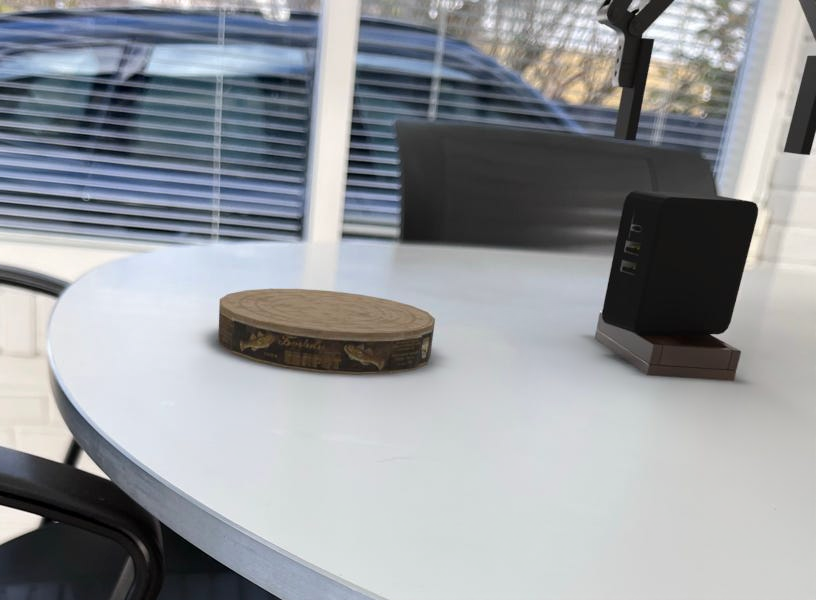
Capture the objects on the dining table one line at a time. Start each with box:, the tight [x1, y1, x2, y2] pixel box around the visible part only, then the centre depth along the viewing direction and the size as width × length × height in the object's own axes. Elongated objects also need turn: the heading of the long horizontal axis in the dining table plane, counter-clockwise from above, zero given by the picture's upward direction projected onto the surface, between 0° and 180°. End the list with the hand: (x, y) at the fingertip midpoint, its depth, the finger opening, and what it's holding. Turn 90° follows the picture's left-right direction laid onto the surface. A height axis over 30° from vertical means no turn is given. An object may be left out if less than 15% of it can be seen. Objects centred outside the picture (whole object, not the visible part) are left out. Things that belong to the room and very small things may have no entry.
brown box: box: [594, 310, 742, 382], centre depth 86 cm, size 7×13×2 cm, turn 5°
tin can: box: [217, 288, 436, 376], centre depth 78 cm, size 16×16×3 cm
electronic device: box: [602, 190, 759, 335], centre depth 83 cm, size 4×10×10 cm, turn 116°
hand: (711, 147), depth 79 cm, fingers open, 13 cm apart
